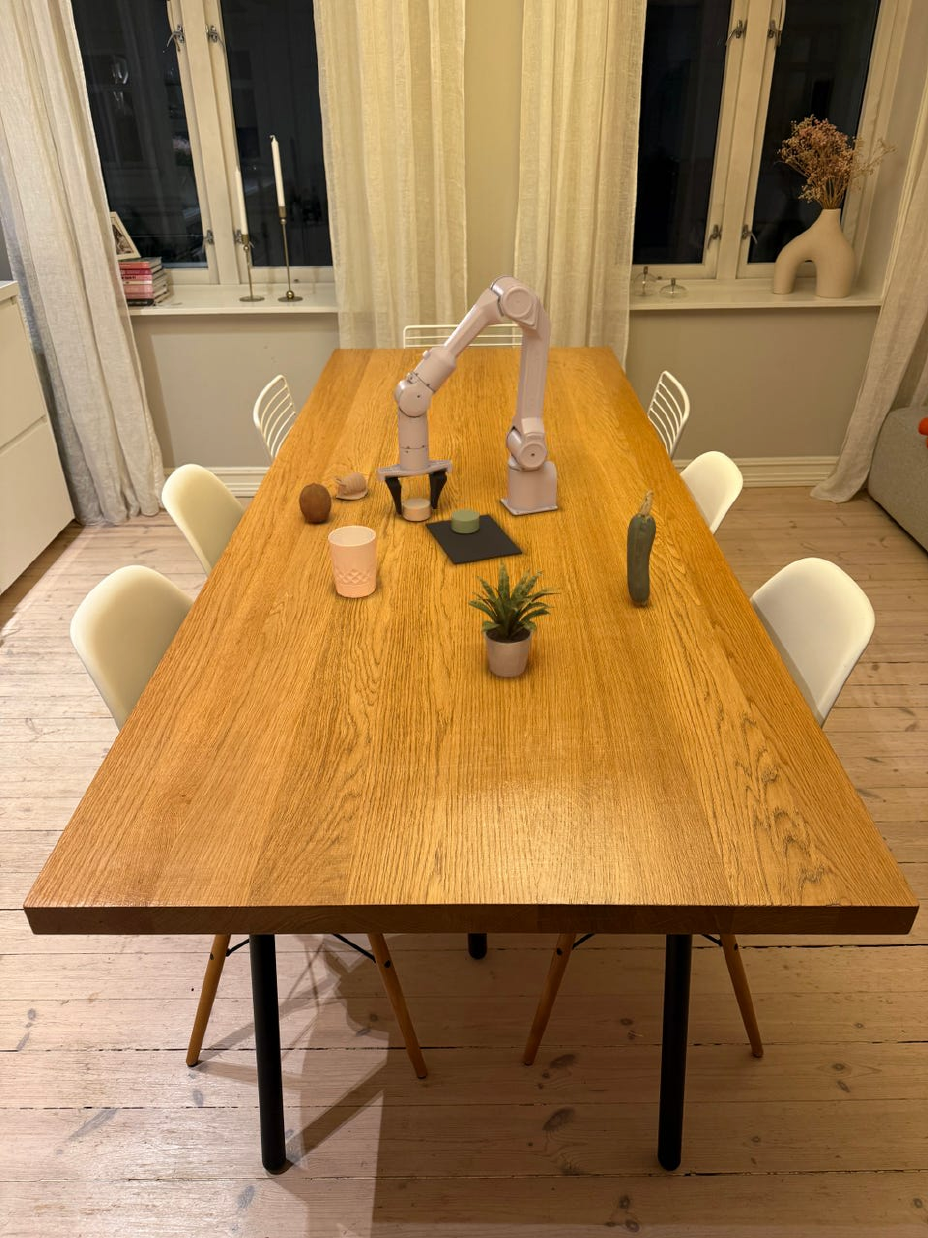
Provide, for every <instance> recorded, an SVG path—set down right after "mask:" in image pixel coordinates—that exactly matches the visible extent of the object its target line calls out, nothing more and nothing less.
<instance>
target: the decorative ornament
mask: <svg viewBox="0 0 928 1238" xmlns="http://www.w3.org/2000/svg"><path fill="white" fill-rule="evenodd" d="M333 481H334V482H335V483H336V484H337V485H338V487H337V494H336V496H335V497H334V498H335V499H342V500H347V501H348V500H349V501H350V500H351V501H355V500H356V501H358V500H360V499H363V498H364V497H365V496H366V495H367V494H368V492H369V490H368V488H367V487H368V486H367V479H366V477H365V476H364V474H362V473H361V472H359V471H354V472H353V471H352V472H350V473H348V474H346V475H344V477H342V478H340V477H337V476H335V477H333Z"/></svg>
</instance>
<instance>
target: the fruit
mask: <svg viewBox="0 0 928 1238" xmlns="http://www.w3.org/2000/svg"><path fill="white" fill-rule="evenodd" d="M298 504H299V510H300V511H301V514H302V516H303V517H304V518H305V519H306V520H308V521H310V522H313V523H321V522H323V521H324V520H327V518H328V517H329V515H330V513H331V511H332V498H331V494H330V492H329V490H328V489H327V488H326V486H324V485H323V484H320V483H315V482H313V483H310V484H307V485H305V486H304V487H303V488H302V489H301V491H300V494H299V497H298Z"/></svg>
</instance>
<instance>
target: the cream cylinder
mask: <svg viewBox="0 0 928 1238" xmlns="http://www.w3.org/2000/svg"><path fill="white" fill-rule="evenodd" d="M402 517H403V518H404V519H405V520H407V521H409V522H410V521H411V522H421V521H425V520H428V519H429V518H431V504H430V500H428V499H427V498H423V497H412V498H408V499H405V500H403V502H402Z"/></svg>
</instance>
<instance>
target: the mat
mask: <svg viewBox="0 0 928 1238" xmlns="http://www.w3.org/2000/svg"><path fill="white" fill-rule="evenodd" d="M479 523H480V527H479V529H478V530H477V531H475V532H472V533H458V532H455V531H453V530H452V529H451V519H448V520H441V521H433V522H427V523H425V527H426V528H427V529H428V531H429V532H430V533H431V535H432V536H433V538H434V539H435V540H436V542H437V543H438V544H439V546H440V548H441V549H442V550H443V552H444V553H445V554H446V555H447V557H448V559H449V560H450V561H451V563H453V565H461V564H467V563H474V562H480V561H487V560H491V559H492V560H493V559H499V558H506V557H511V556H516V555H522V554H523V551H522V550H521V549H520V547H519V546H518V545H517V544H516V543H515V542H514V540H512V539H511V537H509V535H508V534H507V533H506V532H505V530H504V529H503V528H502V527H501V526H500V525H499V524H498V522H496V521H495V520H494V518H493V517H492V516H491V515H490V514H489V513H487V514H481V515H480V514H479Z"/></svg>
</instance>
